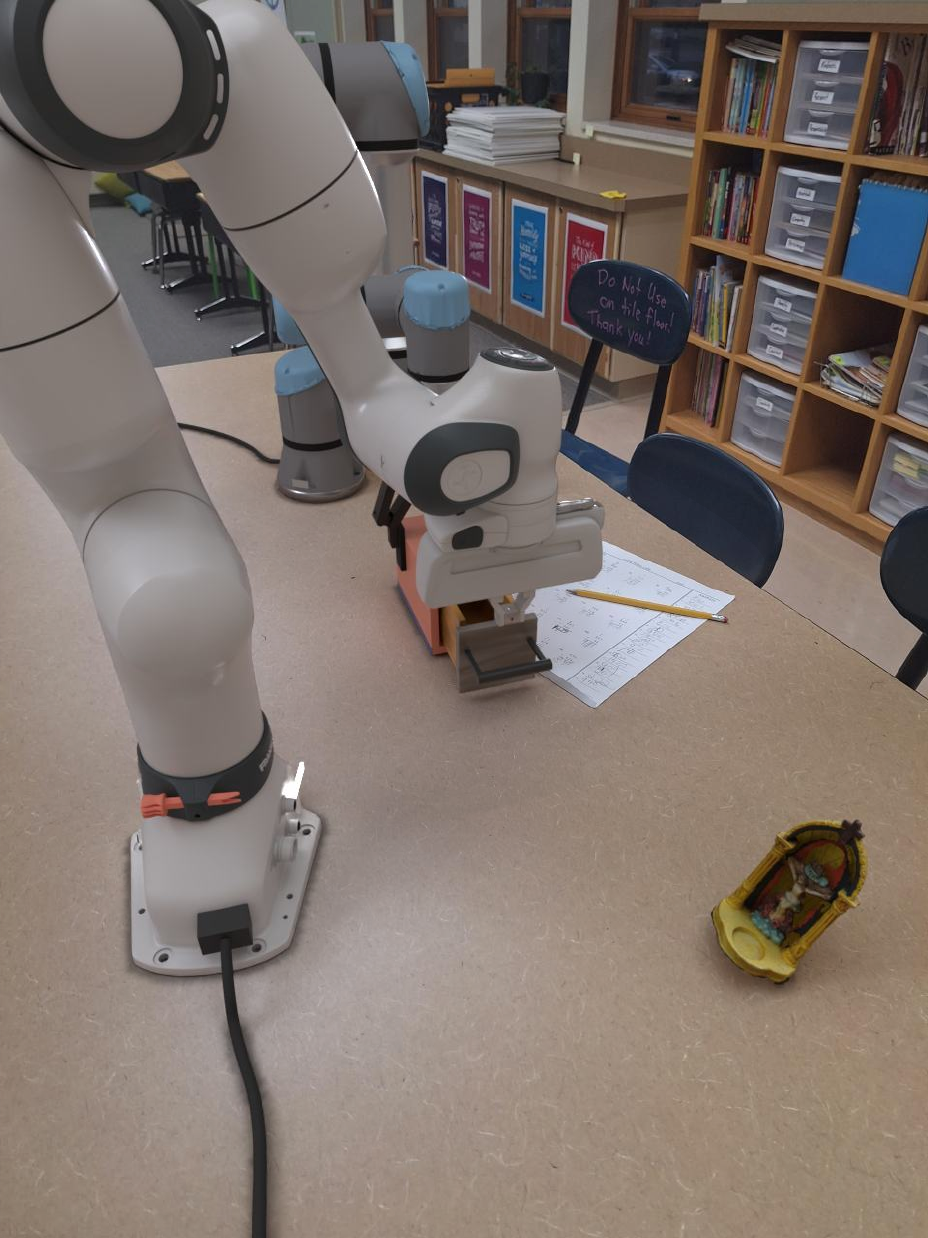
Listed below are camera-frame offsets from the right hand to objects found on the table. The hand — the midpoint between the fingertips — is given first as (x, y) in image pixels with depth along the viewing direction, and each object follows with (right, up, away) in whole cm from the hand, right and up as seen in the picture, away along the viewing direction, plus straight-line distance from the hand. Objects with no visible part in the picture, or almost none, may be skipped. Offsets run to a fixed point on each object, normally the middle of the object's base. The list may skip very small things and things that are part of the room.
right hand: (442, 559), depth 119 cm
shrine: (+30, -38, -42) cm, 64 cm away
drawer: (+5, -14, -11) cm, 18 cm away
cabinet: (+1, -7, 0) cm, 7 cm away
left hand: (+8, -9, -24) cm, 27 cm away
